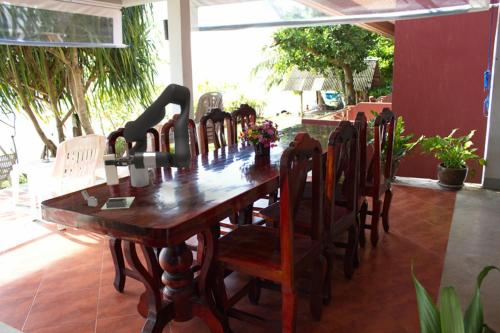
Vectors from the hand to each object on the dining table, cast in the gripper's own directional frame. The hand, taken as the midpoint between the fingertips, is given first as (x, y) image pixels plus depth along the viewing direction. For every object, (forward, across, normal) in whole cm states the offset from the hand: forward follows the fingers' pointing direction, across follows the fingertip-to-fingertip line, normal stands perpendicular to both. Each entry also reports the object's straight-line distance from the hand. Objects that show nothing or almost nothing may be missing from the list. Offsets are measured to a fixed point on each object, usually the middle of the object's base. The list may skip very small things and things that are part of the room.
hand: (106, 162), depth 193 cm
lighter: (+10, -3, +22) cm, 24 cm away
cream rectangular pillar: (-2, 0, +10) cm, 10 cm away
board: (-3, -5, +21) cm, 22 cm away
